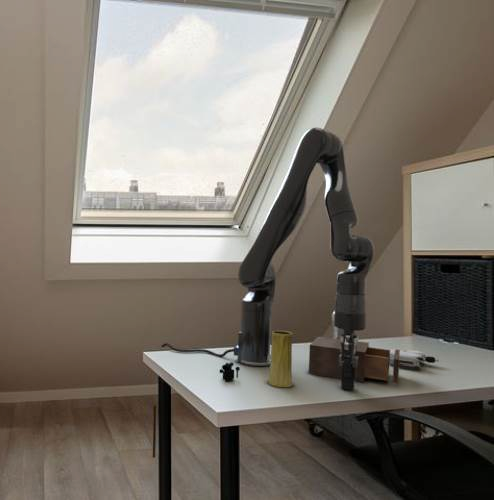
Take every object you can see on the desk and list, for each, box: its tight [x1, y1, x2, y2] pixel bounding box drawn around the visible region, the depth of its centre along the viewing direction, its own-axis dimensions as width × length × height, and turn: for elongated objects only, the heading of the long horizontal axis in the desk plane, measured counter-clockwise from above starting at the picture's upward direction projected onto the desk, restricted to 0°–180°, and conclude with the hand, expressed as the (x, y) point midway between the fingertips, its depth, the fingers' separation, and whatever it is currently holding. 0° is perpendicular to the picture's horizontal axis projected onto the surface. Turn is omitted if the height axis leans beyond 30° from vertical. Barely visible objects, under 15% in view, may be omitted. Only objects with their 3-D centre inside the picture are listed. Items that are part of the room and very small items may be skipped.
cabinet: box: [308, 336, 370, 383], centre depth 143 cm, size 15×15×9 cm
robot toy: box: [389, 349, 440, 366], centre depth 154 cm, size 12×4×15 cm
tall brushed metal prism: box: [339, 355, 358, 391], centre depth 127 cm, size 4×2×8 cm, turn 59°
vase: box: [268, 330, 293, 388], centre depth 130 cm, size 6×6×14 cm
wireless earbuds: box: [219, 361, 241, 382], centre depth 133 cm, size 7×2×5 cm, turn 117°
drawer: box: [364, 346, 421, 385], centre depth 138 cm, size 18×13×7 cm
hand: (348, 374), depth 127 cm, fingers closed on tall brushed metal prism, 2 cm apart
